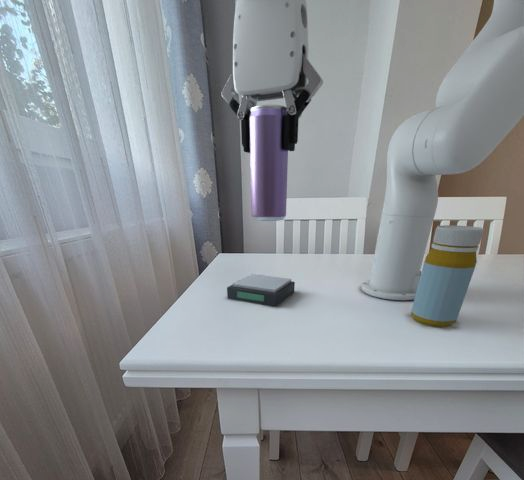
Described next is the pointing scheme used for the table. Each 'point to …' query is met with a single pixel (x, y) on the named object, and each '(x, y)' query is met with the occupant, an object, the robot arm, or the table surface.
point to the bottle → (446, 275)
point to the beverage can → (268, 163)
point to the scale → (261, 290)
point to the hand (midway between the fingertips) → (269, 150)
